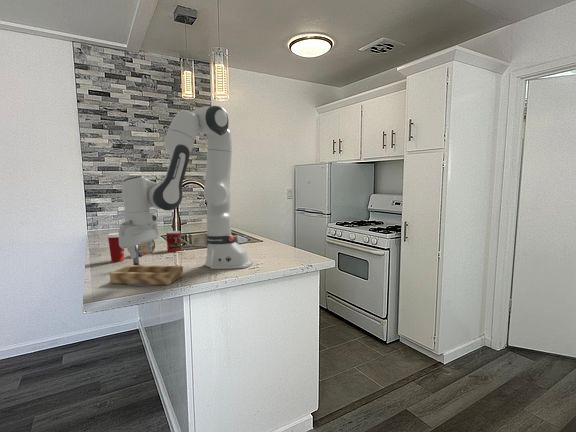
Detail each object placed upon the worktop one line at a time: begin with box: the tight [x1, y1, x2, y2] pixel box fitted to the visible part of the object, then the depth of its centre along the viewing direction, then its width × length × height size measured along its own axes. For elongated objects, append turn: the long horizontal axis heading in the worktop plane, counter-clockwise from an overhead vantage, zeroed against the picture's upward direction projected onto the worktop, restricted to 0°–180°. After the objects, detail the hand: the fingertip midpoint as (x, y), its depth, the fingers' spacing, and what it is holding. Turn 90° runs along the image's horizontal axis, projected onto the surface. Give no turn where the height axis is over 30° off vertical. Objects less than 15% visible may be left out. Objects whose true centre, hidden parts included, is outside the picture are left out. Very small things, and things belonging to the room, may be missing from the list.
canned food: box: [166, 230, 182, 253], centre depth 186 cm, size 8×8×11 cm
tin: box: [138, 239, 156, 257], centre depth 178 cm, size 15×3×8 cm, turn 168°
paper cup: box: [107, 232, 125, 263], centre depth 163 cm, size 8×8×14 cm
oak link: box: [109, 264, 184, 286], centre depth 129 cm, size 24×12×4 cm, turn 82°
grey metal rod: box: [132, 245, 140, 265], centre depth 150 cm, size 4×4×13 cm
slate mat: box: [127, 284, 157, 287], centre depth 130 cm, size 16×16×1 cm
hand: (141, 254), depth 124 cm, fingers open, 8 cm apart
